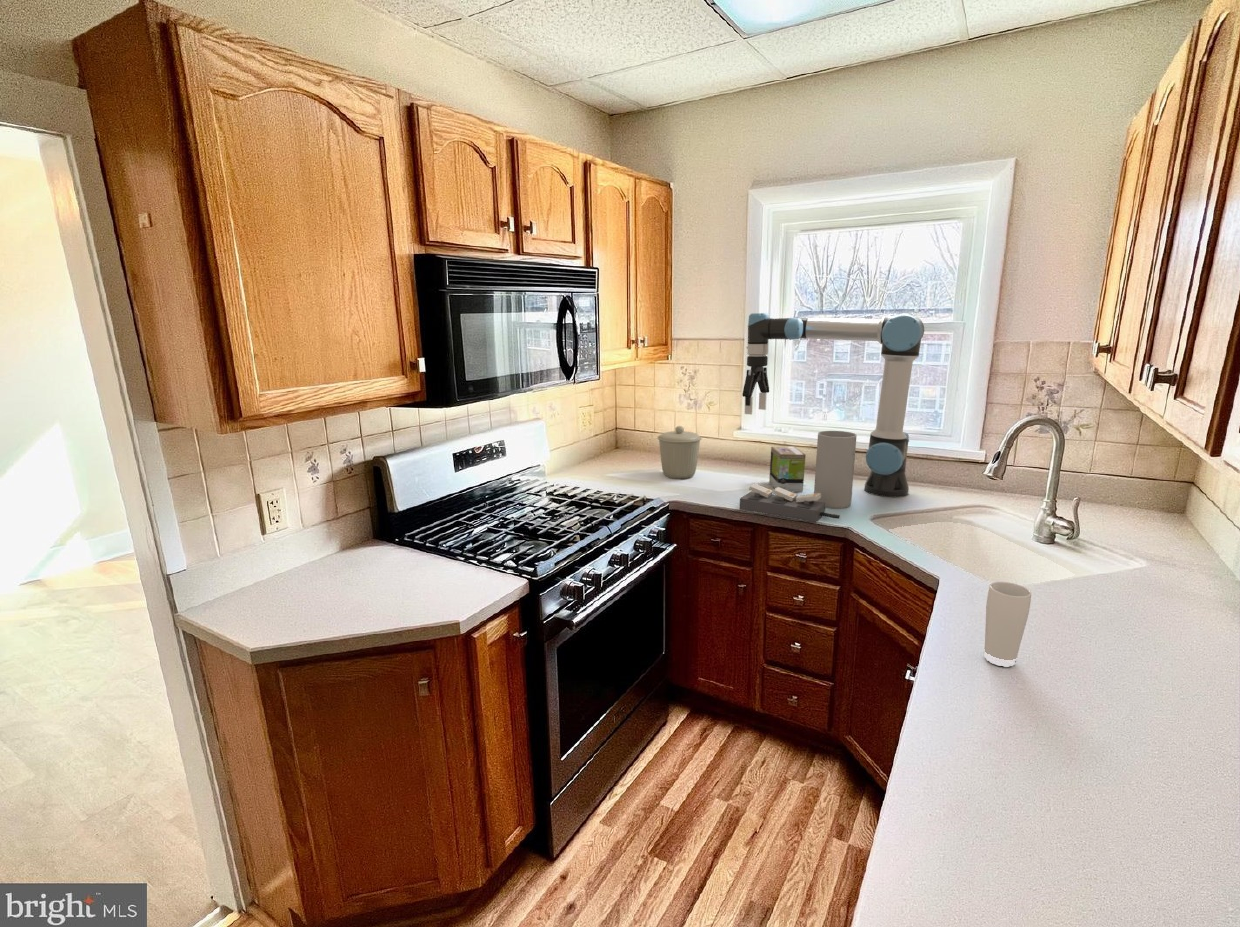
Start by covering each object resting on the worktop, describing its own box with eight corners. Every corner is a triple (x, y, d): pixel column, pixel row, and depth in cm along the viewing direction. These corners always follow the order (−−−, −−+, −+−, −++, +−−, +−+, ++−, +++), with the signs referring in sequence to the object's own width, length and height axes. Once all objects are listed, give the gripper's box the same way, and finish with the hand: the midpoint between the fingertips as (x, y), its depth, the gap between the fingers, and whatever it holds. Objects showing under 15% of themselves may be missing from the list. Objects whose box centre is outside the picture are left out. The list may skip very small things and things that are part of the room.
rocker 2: (795, 500, 208) (797, 494, 207) (791, 503, 204) (793, 497, 203) (776, 492, 211) (778, 486, 210) (771, 495, 207) (773, 489, 206)
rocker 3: (821, 499, 202) (820, 492, 202) (817, 502, 199) (816, 495, 199) (801, 501, 207) (799, 494, 206) (797, 504, 203) (795, 497, 203)
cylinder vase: (856, 508, 209) (863, 437, 203) (821, 509, 208) (826, 437, 203) (842, 498, 221) (847, 430, 215) (808, 499, 221) (812, 431, 215)
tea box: (804, 492, 229) (806, 453, 226) (777, 492, 230) (779, 454, 226) (793, 481, 244) (795, 445, 240) (768, 481, 244) (770, 445, 241)
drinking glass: (1028, 666, 115) (1040, 593, 111) (1002, 674, 113) (1013, 599, 109) (996, 649, 121) (1006, 579, 118) (970, 655, 119) (980, 584, 115)
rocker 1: (771, 496, 212) (773, 490, 211) (766, 499, 209) (768, 493, 208) (753, 488, 215) (754, 483, 215) (748, 491, 212) (750, 485, 211)
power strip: (843, 517, 201) (844, 501, 199) (834, 525, 192) (836, 509, 191) (750, 502, 218) (751, 487, 217) (739, 509, 210) (740, 494, 208)
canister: (689, 483, 242) (690, 431, 237) (649, 478, 251) (649, 427, 246) (707, 474, 257) (709, 424, 252) (669, 468, 266) (670, 421, 261)
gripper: (760, 353, 241) (758, 406, 246) (734, 357, 221) (732, 415, 226) (779, 353, 236) (776, 408, 241) (753, 357, 217) (751, 417, 221)
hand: (755, 411), depth 234 cm, fingers open, 13 cm apart
